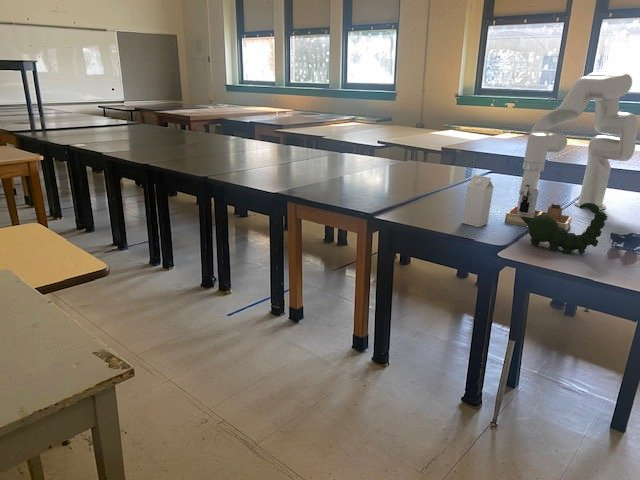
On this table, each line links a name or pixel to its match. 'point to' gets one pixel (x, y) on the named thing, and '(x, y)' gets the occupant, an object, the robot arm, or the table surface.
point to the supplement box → (531, 206)
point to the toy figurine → (565, 231)
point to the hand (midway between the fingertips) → (525, 209)
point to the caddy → (553, 211)
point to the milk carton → (478, 201)
